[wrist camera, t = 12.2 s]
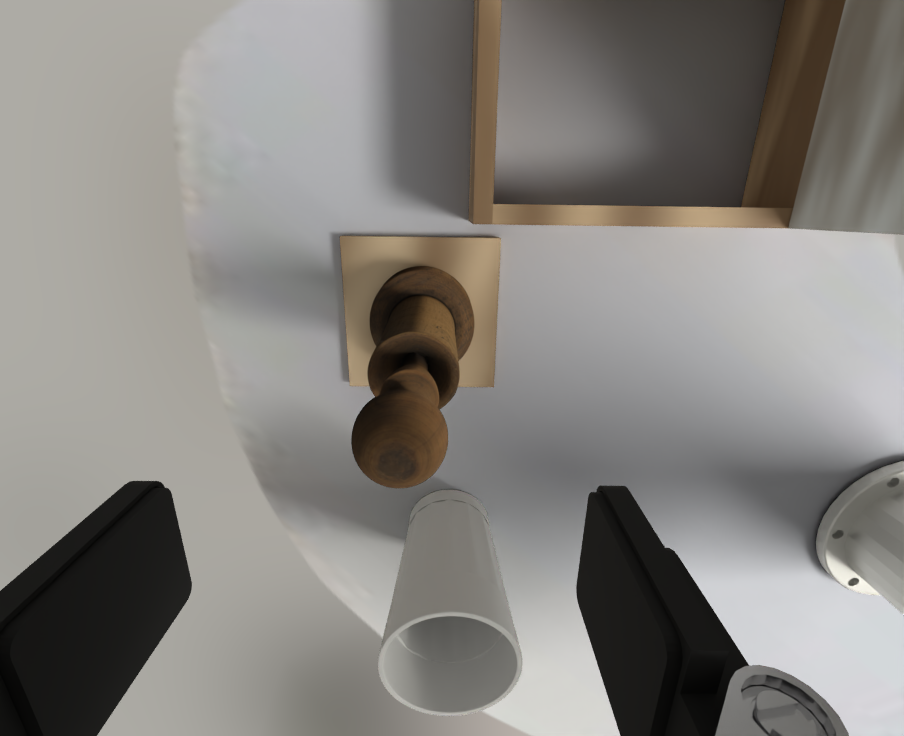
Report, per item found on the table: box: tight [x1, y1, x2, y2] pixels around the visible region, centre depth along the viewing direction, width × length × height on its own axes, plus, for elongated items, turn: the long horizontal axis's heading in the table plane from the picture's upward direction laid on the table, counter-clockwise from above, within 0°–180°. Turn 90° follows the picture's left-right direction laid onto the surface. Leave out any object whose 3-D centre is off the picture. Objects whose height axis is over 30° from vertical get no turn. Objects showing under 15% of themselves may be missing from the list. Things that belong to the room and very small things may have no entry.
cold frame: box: [469, 0, 904, 235], centre depth 16 cm, size 22×14×22 cm, turn 89°
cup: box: [378, 490, 522, 716], centre depth 31 cm, size 8×8×12 cm
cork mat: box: [340, 236, 501, 387], centre depth 30 cm, size 10×10×1 cm
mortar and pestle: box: [352, 266, 474, 488], centre depth 21 cm, size 7×6×18 cm
